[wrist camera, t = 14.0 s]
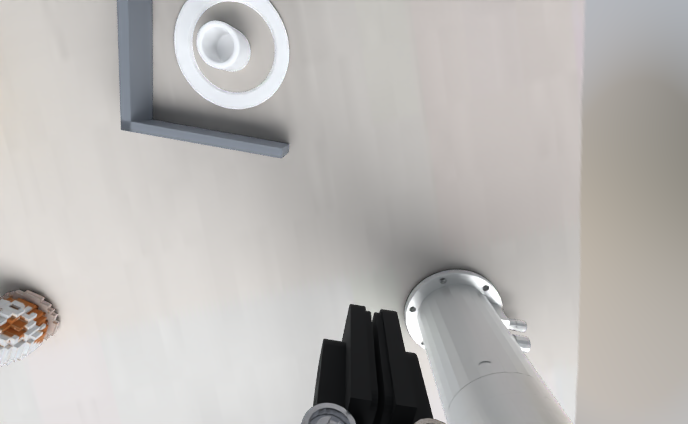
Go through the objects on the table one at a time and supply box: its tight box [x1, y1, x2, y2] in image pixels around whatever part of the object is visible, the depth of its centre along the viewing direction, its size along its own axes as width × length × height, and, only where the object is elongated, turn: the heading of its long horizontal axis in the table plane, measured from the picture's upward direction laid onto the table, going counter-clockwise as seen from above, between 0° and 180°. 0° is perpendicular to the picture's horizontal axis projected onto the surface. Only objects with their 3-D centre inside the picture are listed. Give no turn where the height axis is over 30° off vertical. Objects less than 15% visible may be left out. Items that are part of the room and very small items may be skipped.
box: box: [117, 0, 289, 158], centre depth 34 cm, size 16×18×4 cm
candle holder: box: [174, 0, 289, 109], centre depth 34 cm, size 12×12×4 cm
